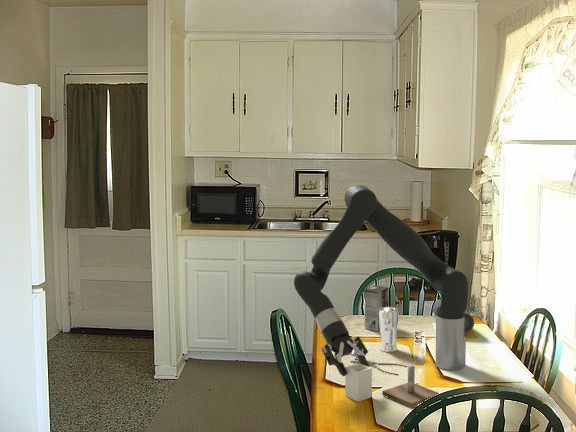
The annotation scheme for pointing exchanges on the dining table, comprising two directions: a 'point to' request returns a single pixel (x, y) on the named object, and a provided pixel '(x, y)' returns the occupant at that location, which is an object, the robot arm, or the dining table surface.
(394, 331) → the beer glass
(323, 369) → the dining table surface
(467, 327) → the bluetooth speaker
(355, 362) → the pliers
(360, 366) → the sleeve
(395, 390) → the post stand
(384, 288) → the coffee box
